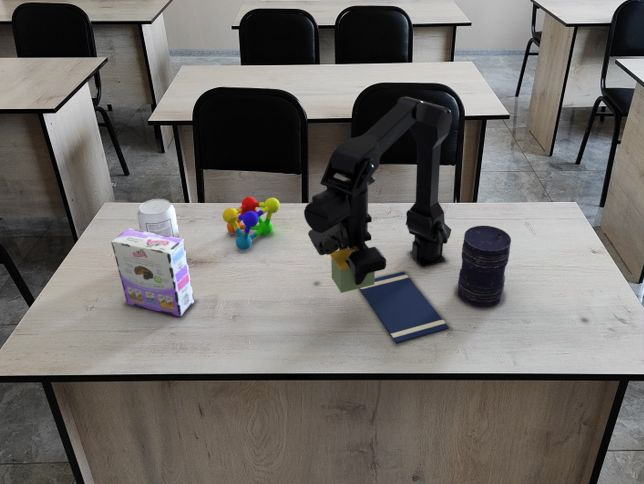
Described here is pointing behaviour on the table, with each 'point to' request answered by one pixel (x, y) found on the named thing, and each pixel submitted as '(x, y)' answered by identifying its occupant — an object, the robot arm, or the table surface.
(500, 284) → the storage jar
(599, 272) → the table surface
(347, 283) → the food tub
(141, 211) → the supplement can
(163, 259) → the candy box
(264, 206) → the molecular model
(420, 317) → the tea towel
